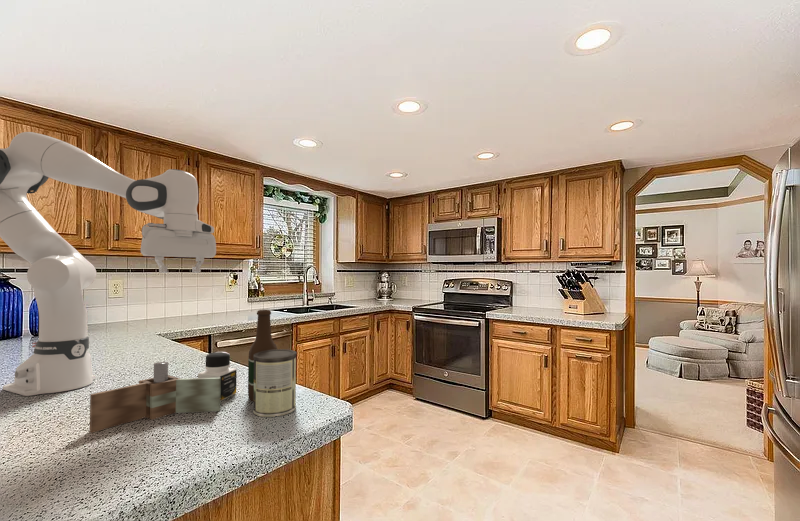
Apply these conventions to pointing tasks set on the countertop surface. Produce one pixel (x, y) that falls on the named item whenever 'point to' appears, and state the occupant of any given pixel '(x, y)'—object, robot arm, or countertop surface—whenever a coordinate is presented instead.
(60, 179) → the robot arm
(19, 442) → the countertop surface
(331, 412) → the countertop surface
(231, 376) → the medicine bottle
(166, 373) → the hinge pin
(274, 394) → the coffee can
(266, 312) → the beer bottle
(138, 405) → the stand
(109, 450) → the countertop surface
